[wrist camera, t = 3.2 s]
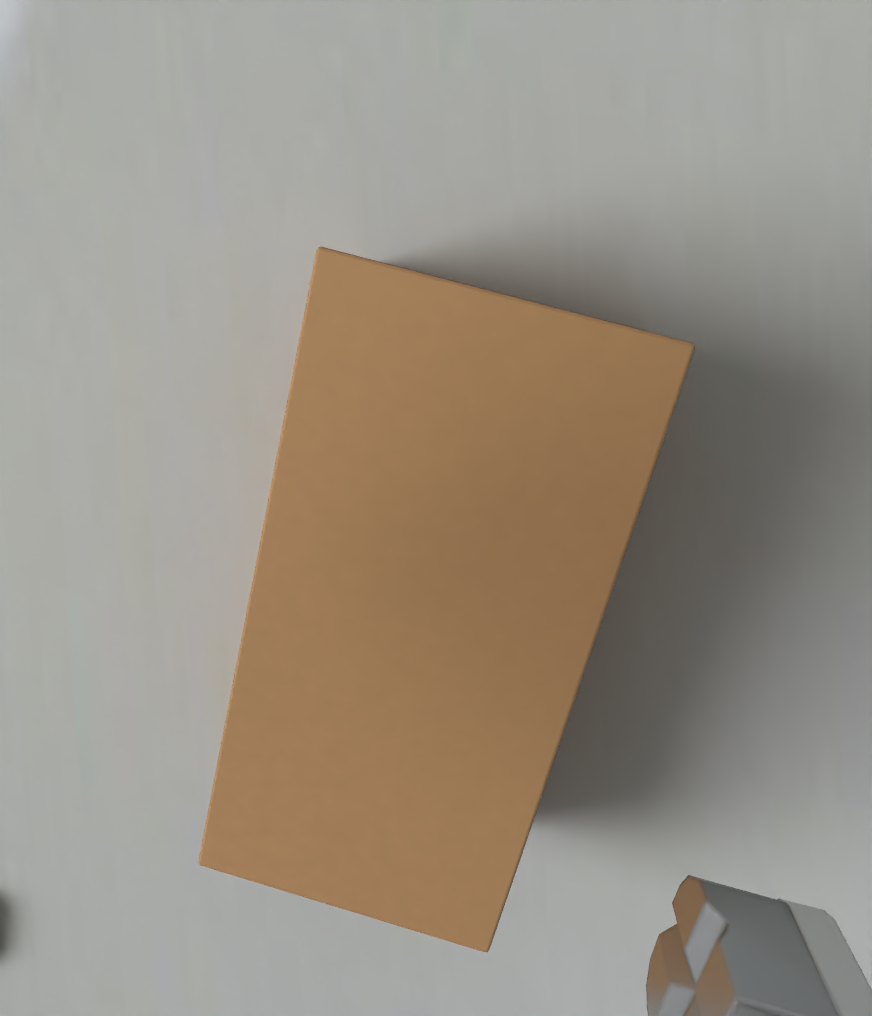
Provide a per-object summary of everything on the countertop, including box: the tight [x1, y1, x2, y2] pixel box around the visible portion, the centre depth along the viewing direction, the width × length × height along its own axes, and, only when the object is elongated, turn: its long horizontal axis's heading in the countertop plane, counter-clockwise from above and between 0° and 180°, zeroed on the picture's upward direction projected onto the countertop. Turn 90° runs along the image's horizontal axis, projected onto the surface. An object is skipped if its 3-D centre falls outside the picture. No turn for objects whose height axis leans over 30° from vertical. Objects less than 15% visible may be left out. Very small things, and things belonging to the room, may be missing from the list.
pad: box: [199, 247, 695, 952], centre depth 15 cm, size 6×12×4 cm, turn 166°
